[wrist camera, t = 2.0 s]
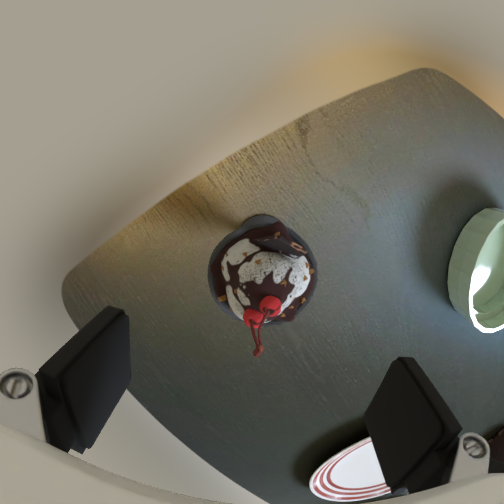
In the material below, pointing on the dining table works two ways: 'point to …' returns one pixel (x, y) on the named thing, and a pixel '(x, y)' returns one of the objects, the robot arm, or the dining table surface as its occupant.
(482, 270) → the bowl
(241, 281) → the sundae
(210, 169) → the dining table surface
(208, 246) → the dining table surface
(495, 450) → the coffee grinder
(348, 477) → the dinner plate
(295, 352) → the dining table surface
